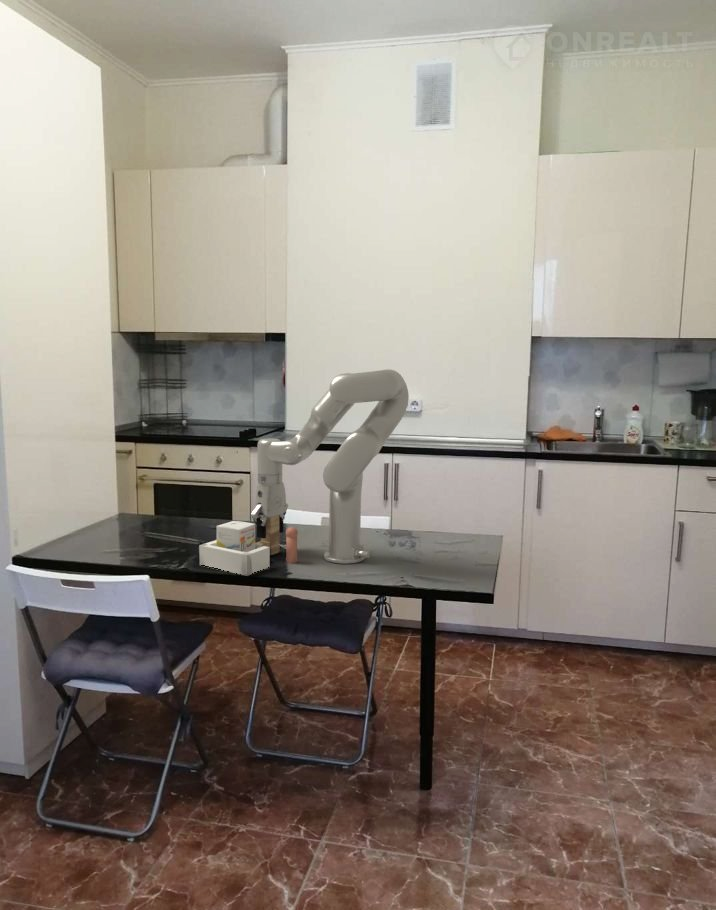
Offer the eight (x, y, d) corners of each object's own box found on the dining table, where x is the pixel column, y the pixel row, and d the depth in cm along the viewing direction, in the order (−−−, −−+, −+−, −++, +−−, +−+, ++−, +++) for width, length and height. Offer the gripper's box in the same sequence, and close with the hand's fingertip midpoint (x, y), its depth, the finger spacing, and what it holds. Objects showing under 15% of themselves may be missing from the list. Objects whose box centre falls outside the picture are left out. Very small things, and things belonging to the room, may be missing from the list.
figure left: (300, 561, 217) (300, 526, 215) (292, 564, 214) (292, 529, 212) (290, 559, 219) (290, 525, 217) (283, 562, 216) (283, 527, 214)
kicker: (287, 553, 224) (287, 509, 222) (264, 562, 215) (264, 516, 213) (261, 548, 229) (261, 505, 227) (238, 556, 220) (238, 511, 218)
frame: (269, 567, 210) (269, 547, 210) (247, 575, 202) (246, 555, 201) (222, 557, 220) (222, 538, 219) (199, 565, 211) (199, 545, 211)
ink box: (239, 568, 209) (239, 529, 207) (215, 564, 213) (215, 525, 211) (256, 561, 216) (256, 523, 215) (233, 557, 220) (233, 519, 218)
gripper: (261, 484, 212) (261, 542, 215) (296, 476, 227) (296, 530, 229) (241, 481, 216) (242, 539, 219) (277, 473, 231) (278, 527, 233)
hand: (270, 534), depth 224 cm, fingers open, 8 cm apart
